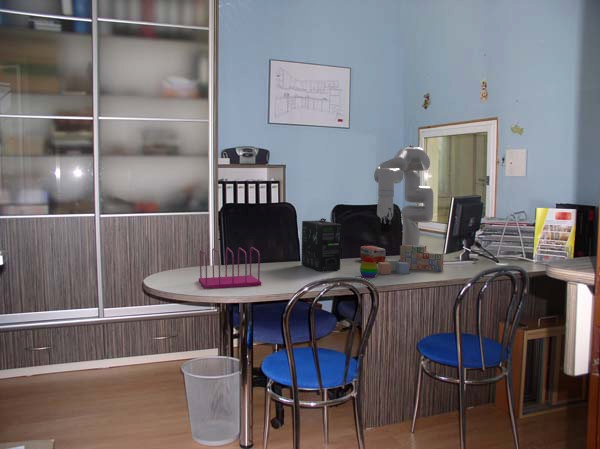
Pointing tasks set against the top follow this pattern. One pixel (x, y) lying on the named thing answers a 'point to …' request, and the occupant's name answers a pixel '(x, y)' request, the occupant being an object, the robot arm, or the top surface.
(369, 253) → the medicine box
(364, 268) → the decorative egg
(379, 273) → the charcoal mat
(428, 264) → the stack of blocks
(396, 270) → the slate-blue cube
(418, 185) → the robot arm
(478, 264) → the top surface
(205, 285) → the file sorter
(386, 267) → the terracotta cube
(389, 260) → the sage cube
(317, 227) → the headset box
